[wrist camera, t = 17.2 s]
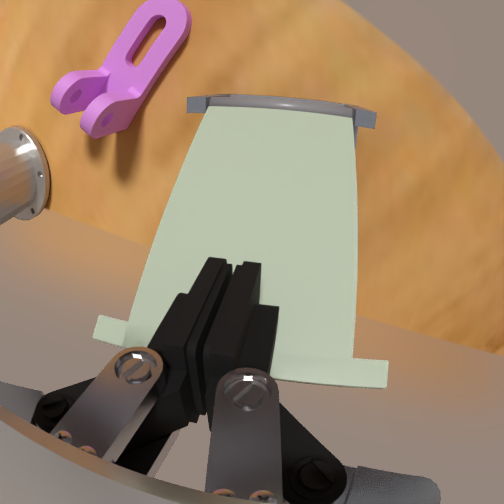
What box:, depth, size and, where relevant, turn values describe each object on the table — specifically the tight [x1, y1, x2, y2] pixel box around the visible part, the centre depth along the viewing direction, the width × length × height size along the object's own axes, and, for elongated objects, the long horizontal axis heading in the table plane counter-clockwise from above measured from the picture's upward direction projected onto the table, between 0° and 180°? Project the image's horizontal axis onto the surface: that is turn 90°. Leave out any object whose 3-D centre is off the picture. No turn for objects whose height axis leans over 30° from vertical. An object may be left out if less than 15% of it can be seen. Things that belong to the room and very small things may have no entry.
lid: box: [93, 97, 389, 389], centre depth 14 cm, size 11×15×1 cm
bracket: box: [50, 0, 192, 139], centre depth 21 cm, size 13×6×7 cm, turn 142°
